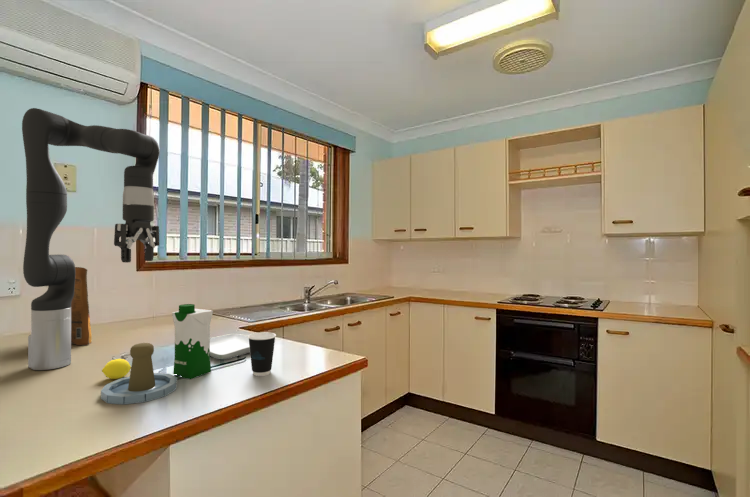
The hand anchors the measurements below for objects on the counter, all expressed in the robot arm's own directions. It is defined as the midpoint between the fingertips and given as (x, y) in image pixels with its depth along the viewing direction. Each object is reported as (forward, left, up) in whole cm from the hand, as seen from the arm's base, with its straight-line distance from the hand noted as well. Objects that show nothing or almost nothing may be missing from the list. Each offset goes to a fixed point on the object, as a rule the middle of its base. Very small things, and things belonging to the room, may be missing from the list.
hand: (137, 261), depth 110 cm
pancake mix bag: (-47, +27, -32) cm, 63 cm away
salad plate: (+13, +27, -33) cm, 44 cm away
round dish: (+10, -11, -32) cm, 35 cm away
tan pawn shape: (+10, -10, -31) cm, 34 cm away
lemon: (-3, -4, -32) cm, 33 cm away
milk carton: (+15, +3, -32) cm, 36 cm away
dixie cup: (+34, +7, -32) cm, 47 cm away
